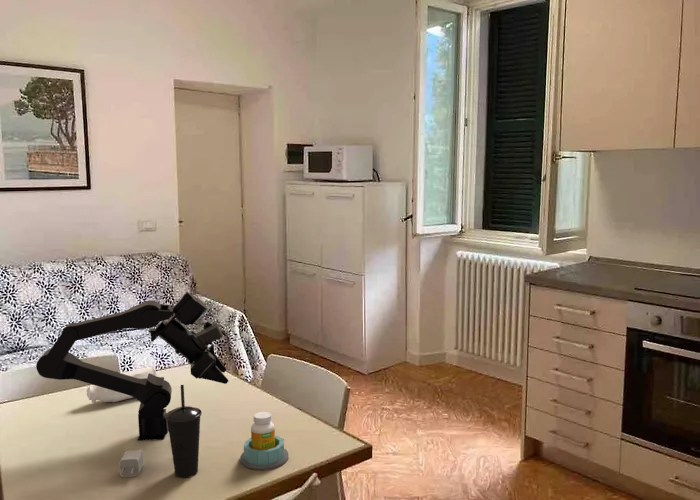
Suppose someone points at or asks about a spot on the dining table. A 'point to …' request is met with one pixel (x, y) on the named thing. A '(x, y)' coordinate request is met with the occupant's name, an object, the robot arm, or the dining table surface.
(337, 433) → the dining table surface
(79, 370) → the robot arm
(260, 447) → the supplement bottle
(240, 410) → the dining table surface
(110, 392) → the white bottle
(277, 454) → the teal round bowl
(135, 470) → the usb wall charger
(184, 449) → the drinking cup
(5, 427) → the dining table surface
